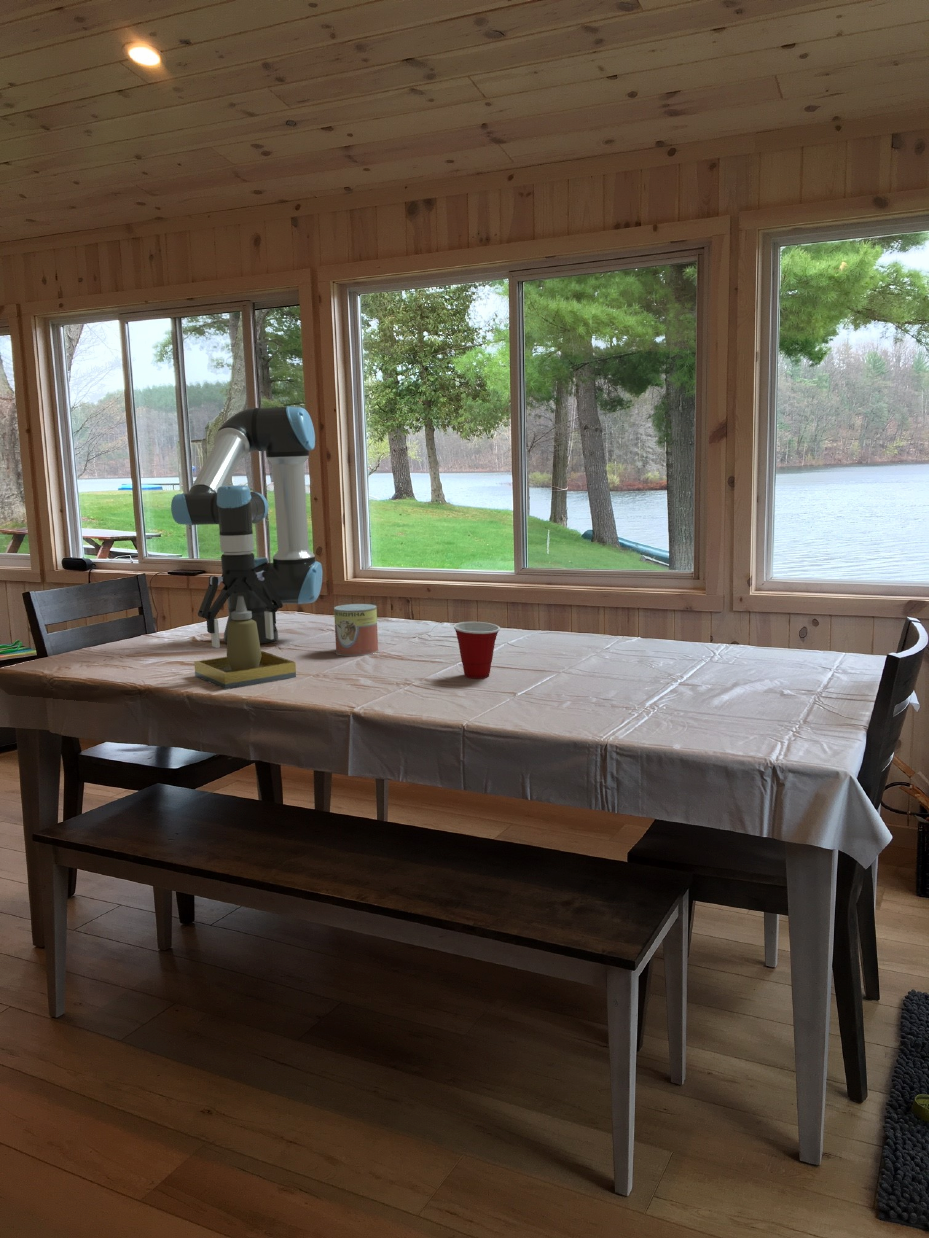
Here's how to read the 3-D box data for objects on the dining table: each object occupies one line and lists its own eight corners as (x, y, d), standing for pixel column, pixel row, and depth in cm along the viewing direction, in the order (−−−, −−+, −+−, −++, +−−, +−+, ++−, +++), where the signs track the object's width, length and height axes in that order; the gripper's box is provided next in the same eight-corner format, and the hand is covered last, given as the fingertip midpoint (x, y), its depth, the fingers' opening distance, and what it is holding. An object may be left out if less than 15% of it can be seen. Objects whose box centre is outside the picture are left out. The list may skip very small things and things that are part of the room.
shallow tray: (263, 665, 232) (262, 651, 232) (296, 677, 219) (295, 662, 218) (195, 676, 222) (194, 661, 221) (225, 689, 208) (224, 673, 207)
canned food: (327, 654, 244) (325, 609, 242) (348, 646, 254) (346, 603, 252) (366, 657, 239) (364, 611, 237) (385, 648, 250) (384, 604, 248)
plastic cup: (485, 683, 208) (484, 630, 206) (445, 678, 214) (444, 626, 212) (509, 673, 217) (508, 623, 215) (470, 668, 223) (469, 619, 221)
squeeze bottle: (253, 675, 215) (249, 599, 212) (221, 675, 217) (216, 598, 214) (268, 668, 223) (263, 594, 220) (236, 667, 225) (232, 593, 222)
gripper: (279, 547, 226) (284, 633, 229) (179, 556, 211) (186, 647, 214) (293, 549, 220) (298, 637, 223) (191, 558, 205) (198, 652, 209)
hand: (243, 642), depth 219 cm, fingers open, 13 cm apart
